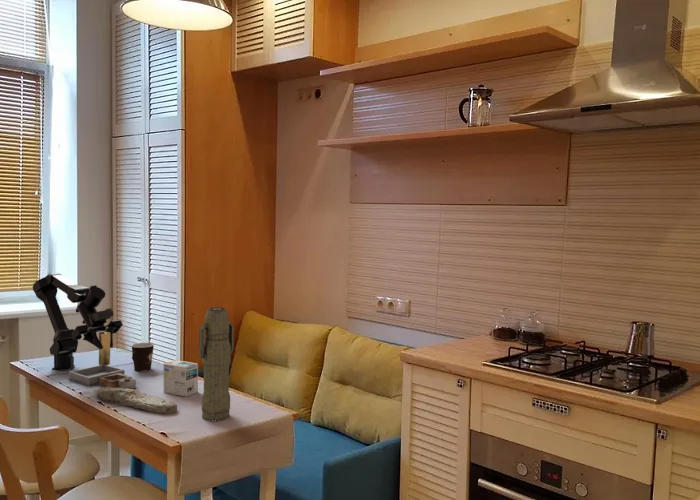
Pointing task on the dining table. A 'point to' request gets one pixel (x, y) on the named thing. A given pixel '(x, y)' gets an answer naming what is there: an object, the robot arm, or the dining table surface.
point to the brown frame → (118, 381)
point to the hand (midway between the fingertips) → (106, 347)
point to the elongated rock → (136, 400)
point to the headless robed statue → (216, 363)
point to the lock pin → (104, 348)
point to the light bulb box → (180, 378)
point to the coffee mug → (142, 356)
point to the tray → (93, 374)
